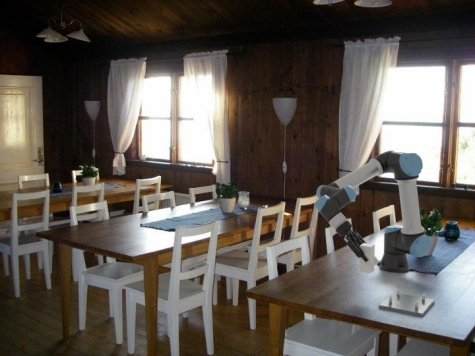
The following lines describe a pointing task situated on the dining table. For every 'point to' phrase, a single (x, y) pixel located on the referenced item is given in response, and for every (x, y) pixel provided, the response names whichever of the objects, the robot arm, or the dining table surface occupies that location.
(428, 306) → the plate
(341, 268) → the dining table surface
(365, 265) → the block
